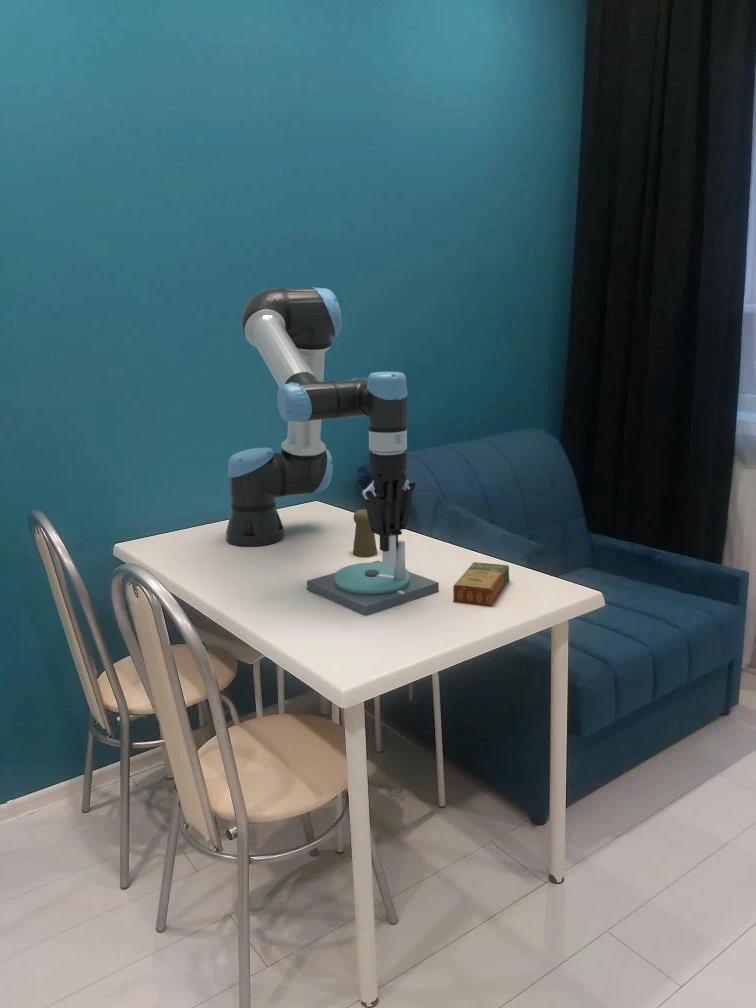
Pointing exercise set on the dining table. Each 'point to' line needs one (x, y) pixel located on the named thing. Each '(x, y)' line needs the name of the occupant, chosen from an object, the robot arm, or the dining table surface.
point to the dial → (374, 576)
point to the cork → (363, 536)
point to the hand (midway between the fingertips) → (389, 564)
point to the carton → (481, 584)
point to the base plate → (372, 602)
